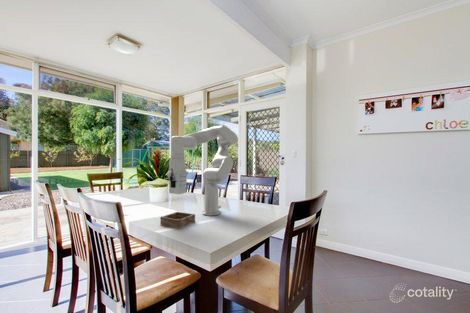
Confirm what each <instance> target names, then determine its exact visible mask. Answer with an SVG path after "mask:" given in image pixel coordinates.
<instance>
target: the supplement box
mask: <svg viewBox="0 0 470 313" xmlns="http://www.w3.org/2000/svg"><path fill="white" fill-rule="evenodd" d="M187 172H188V171H187ZM187 172H177V173H176V176H175V185H176V187H175V188H171V181H170V179H169V178H168V186H169V187H168V192H169V194H174V195H182V194H186V193H187V176H188V174H187ZM171 175H174V174H173V173H172V174H171Z"/></svg>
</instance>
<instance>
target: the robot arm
mask: <svg viewBox="0 0 470 313" xmlns="http://www.w3.org/2000/svg"><path fill="white" fill-rule="evenodd" d="M215 139H216V141H217V142H216V143H217V146H218V150H217V152H216V154H215V155H214V158H213V159H212V161H211V166H212V167H209V168H208V167H207V168H205V170H204V171H203V173H202V177H203V183H204V210H203V211H202V212H201V213H202V215H203V216H211V217H212V216H218V215H220V214H221V210H219V209H221V208H222V206H221V205H219V185H218V183H224V182H225V181H226V180H227V178H228V177H229V174H230V172H231V171H232V168H233V166H234V160H233V157H231V156H230V155H229V154H230V150H229V148H228V146H235V145H236V144H237V143H238V142H239V137H238V135H237V133H235V131H233V130H231V129H230V128H229V127H228V126H226V125H223V124H221V125H214V126H211V127H208V128H205V129H202V130H199V131H195V132H192V133H188V134H185V135H183V136H181V135H173V136H171V139H170V141H171V144H170V145H171V146H170V147H171V149H170V150H171V151H170V152H171V153H170V155H171V156H170V157H171V158H170V160H169V166H168V172H167V174H166V176H167V177H168V180H169V179H170V181H171V188H175V187H176V185H175V176H176V173H177V172H187V175H188V174H189V172H188V171H187V168H186V159H185V158H186V157H185V150H187V149H188V150H189V149H190V150H191V149H194V148H196V147H197V145H199V144H206V143H208V142H210V141H213V140H215ZM172 173H173V174H174V175H171V174H172Z"/></svg>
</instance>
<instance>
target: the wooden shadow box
mask: <svg viewBox="0 0 470 313" xmlns="http://www.w3.org/2000/svg"><path fill="white" fill-rule="evenodd" d="M159 222H160V226H165V227H168V228H174V229H181V228H183V227H186V226H189V225H191V224H193V223H195V222H196V214H194V213H188V212H182V211H175V212H173V213H170V214H166V215H162V216H160V221H159Z"/></svg>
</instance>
